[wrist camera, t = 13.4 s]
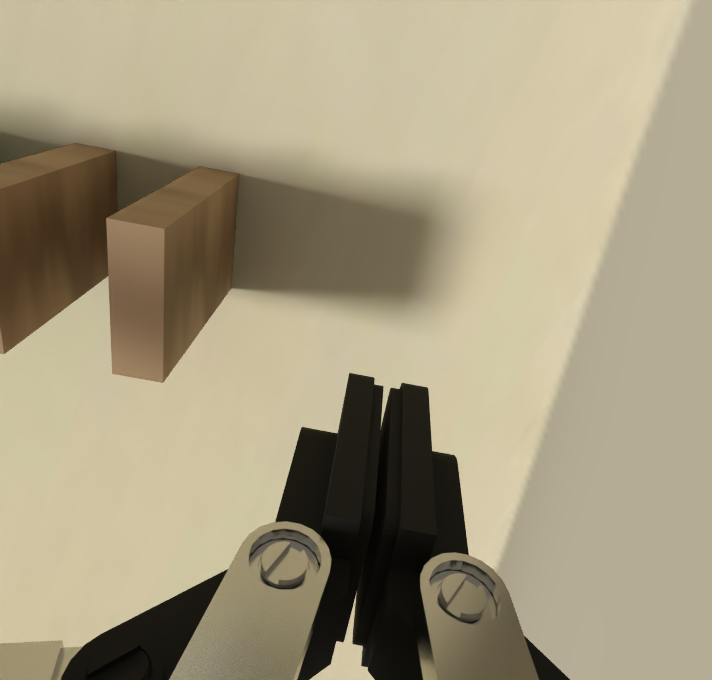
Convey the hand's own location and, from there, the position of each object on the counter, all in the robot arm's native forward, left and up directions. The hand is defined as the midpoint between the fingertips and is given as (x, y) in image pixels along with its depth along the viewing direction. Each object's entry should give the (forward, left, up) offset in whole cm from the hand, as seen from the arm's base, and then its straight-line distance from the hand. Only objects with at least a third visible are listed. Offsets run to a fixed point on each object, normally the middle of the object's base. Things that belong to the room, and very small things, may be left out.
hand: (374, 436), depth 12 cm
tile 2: (0, +12, -13) cm, 18 cm away
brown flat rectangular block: (0, +7, -13) cm, 15 cm away
